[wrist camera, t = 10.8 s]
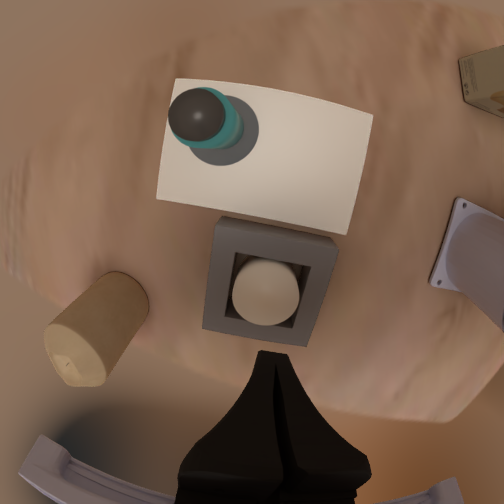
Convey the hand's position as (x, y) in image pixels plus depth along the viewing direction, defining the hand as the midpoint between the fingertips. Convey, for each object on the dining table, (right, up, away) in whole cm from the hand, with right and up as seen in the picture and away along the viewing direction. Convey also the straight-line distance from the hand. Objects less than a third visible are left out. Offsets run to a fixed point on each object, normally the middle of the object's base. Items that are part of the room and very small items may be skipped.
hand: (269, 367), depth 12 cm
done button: (0, +3, +8) cm, 9 cm away
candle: (-12, +1, +11) cm, 16 cm away
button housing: (0, +4, +9) cm, 9 cm away
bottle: (-3, +14, +5) cm, 15 cm away
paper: (0, +12, +6) cm, 13 cm away
